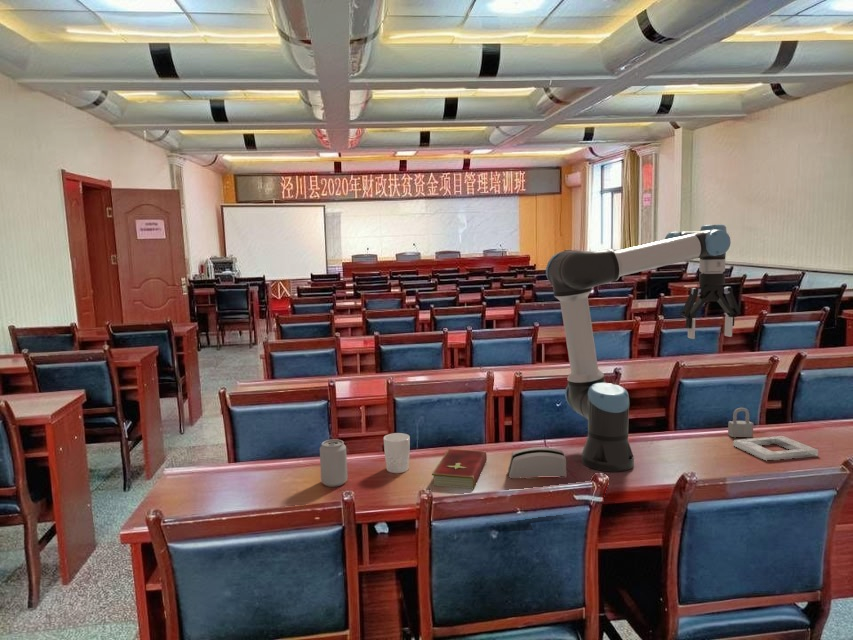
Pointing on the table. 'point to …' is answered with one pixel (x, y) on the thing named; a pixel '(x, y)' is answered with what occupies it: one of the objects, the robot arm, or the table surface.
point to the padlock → (740, 425)
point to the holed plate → (794, 451)
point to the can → (333, 463)
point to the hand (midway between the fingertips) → (709, 337)
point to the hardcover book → (460, 468)
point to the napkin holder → (537, 463)
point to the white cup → (397, 452)
